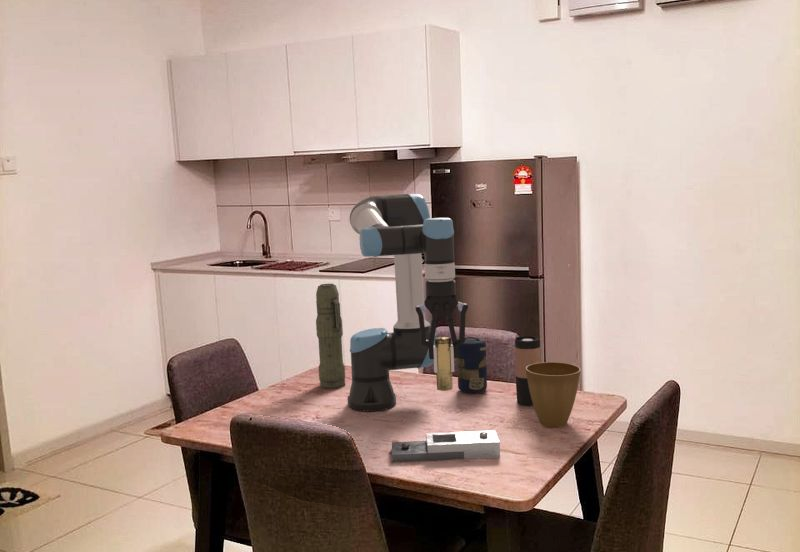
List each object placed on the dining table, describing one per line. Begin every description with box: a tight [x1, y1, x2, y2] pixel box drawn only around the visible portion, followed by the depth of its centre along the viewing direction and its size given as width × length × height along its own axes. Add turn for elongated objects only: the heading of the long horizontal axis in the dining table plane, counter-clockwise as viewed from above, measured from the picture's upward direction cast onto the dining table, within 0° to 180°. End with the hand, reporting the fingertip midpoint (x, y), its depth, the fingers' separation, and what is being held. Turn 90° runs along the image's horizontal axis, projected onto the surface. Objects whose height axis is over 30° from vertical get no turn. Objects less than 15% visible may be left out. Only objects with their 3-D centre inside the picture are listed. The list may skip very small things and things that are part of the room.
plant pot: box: [526, 361, 582, 429], centre depth 219 cm, size 15×15×16 cm
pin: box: [435, 336, 454, 392], centre depth 200 cm, size 4×4×13 cm
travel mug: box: [514, 335, 542, 407], centre depth 239 cm, size 8×8×20 cm
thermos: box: [315, 283, 346, 390], centre depth 267 cm, size 9×12×35 cm
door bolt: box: [391, 429, 501, 463], centre depth 200 cm, size 9×27×5 cm, turn 91°
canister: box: [456, 336, 488, 394], centre depth 254 cm, size 10×10×18 cm
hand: (444, 370), depth 200 cm, fingers closed on pin, 3 cm apart
